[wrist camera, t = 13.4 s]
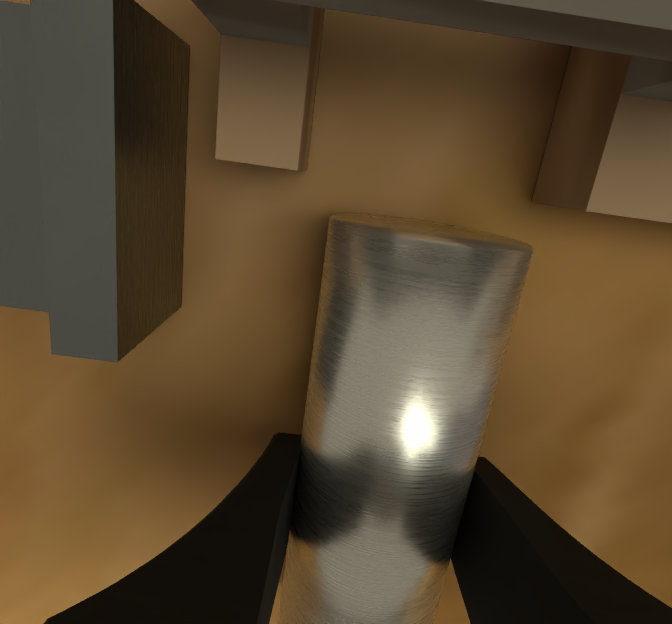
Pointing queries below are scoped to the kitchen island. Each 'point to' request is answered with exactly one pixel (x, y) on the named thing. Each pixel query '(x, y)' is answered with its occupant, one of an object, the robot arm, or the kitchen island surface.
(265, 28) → the bearing block
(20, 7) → the cradle
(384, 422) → the axle
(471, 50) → the kitchen island surface
